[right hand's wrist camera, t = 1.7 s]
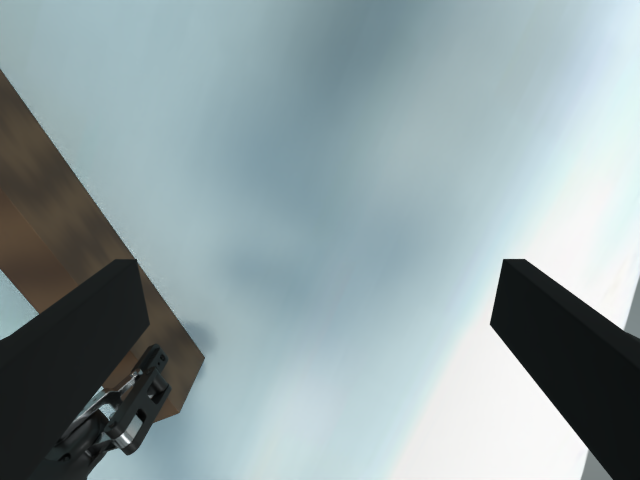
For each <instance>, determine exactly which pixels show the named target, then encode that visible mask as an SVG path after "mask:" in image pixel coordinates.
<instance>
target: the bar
mask: <svg viewBox="0 0 640 480" xmlns="http://www.w3.org/2000/svg"><path fill="white" fill-rule="evenodd" d="M115 259H134V257H133V256H132V254H131V253H130V251H129V250H128V249H127V247H126V246H125V244H124V243H123V242H122V240H121V239H120V237H119V236H118V235H117V233H116V232H115V230H114V229H113V227H112V226H111V225H110V223H109V222H108V220H107V219H106V218H105V216H104V215H103V213H102V212H101V211H100V209H99V208H98V206H97V205H96V204H95V202H94V201H93V199H92V198H91V196H90V195H89V194H88V192H87V191H86V189H85V188H84V187H83V185H82V184H81V182H80V181H79V180H78V178H77V177H76V175H75V174H74V172H73V171H72V170H71V168H70V167H69V165H68V164H67V163H66V161H65V160H64V158H63V157H62V156H61V154H60V153H59V151H58V150H57V149H56V147H55V146H54V144H53V143H52V141H51V140H50V139H49V137H48V136H47V134H46V133H45V132H44V130H43V129H42V127H41V126H40V125H39V123H38V122H37V120H36V119H35V117H34V116H33V115H32V113H31V112H30V110H29V109H28V108H27V106H26V105H25V103H24V102H23V101H22V99H21V98H20V96H19V95H18V94H17V92H16V91H15V89H14V88H13V86H12V85H11V84H10V82H9V81H8V79H7V78H6V77H5V75H4V74H3V72H2V71H1V70H0V269H1V270H2V271H3V273H4V274H5V275H6V276H7V277H8V278H9V280H10V281H11V282H12V283H13V284H14V285H15V286H16V288H17V289H18V290H19V291H20V292H21V293H22V294H23V296H24V297H25V298H26V299H27V300H28V301H29V303H30V304H31V305H32V306H33V307H34V308H35V309H36V311H37V312H38V313H39V314H40V313H42V312H43V311H44V310H46V309H47V308H49V307H50V306H51V305H53V304H54V303H55V302H57V301H58V300H60V299H61V298H62V297H64V296H65V295H66V294H68V293H69V292H71V291H72V290H73V289H75V288H76V287H77V286H79V285H80V284H82V283H83V282H84V281H86V280H87V279H89V278H90V277H91V276H93V275H94V274H95V273H97V272H98V271H100V270H101V269H102V268H104V267H105V266H106V265H108V264H109V263H111V262H112V261H113V260H115ZM138 268H139V273H140V278H141V283H142V287H143V292H144V297H145V302H146V307H147V312H148V316H149V321H150V325H149V327H148V328H147V329H146V330H145V332H144V333H143V334H142V335H141V337H140V338H139V339H138V340H137V342H136V343H135V344H134V345H133V347H132V348H131V349H130V350H129V352H128V353H127V354H126V355H125V357H124V358H123V359H122V361H121V362H120V363H119V364H118V366H117V367H116V368H115V369H114V371H113V372H112V373H111V374H110V376H109V377H108V378H107V379H106V381H105V382H104V383H103V384H102V387H103V388H104V389H105V388H114V387H115V386H116V385H117V384H119V383H120V382H121V381H122V380H123V379H124V378H126V377H127V376H128V375H129V374H130V373H131V371H132V369H133V368H134V366H135V365H136V363H137V362H138V361H139V359H140V358H141V356H142V355H143V353H144V352H145V351H146V349H147V348H148V347H149V346H151V345H153V344H158V345H159V346H160V347H161V348H162V350H163V351H164V352H165V353H166V355H167V356H168V357H169V360H168V362H167V364H166V366H165V367H164V369H163V371H162V372H161V376H162V377H163V378H164V379H165V381H166V382H167V383H168V384H169V385H170V386H171V387H172V390H171V392H170V394H169V395H168V397H167V399H166V401H165V402H164V404H163V406H162V408H161V410H160V411H159V413H158V415H157V417H156V418H155V420H154V422H153V423H155V422H157V421H160V420H162V419H165V418H168V417H170V416H173V415H175V414H178V413H180V411H181V409H182V406H183V404H184V402H185V400H186V398H187V396H188V393H189V391H190V389H191V387H192V385H193V383H194V380H195V378H196V376H197V374H198V372H199V370H200V367H201V365H202V363H203V361H204V359H205V357H204V356H203V354H202V353H201V352H200V350H199V349H198V347H197V346H196V345H195V343H194V342H193V340H192V339H191V337H190V336H189V335H188V333H187V332H186V330H185V329H184V328H183V326H182V325H181V323H180V322H179V321H178V319H177V318H176V316H175V315H174V314H173V312H172V311H171V309H170V308H169V306H168V305H167V304H166V302H165V301H164V299H163V298H162V297H161V295H160V294H159V292H158V291H157V290H156V288H155V287H154V285H153V284H152V282H151V281H150V280H149V278H148V277H147V275H146V274H145V273H144V271H143V270H142V268H141V267H140V266H139V264H138ZM132 388H133V386H131V387H130V388H129V389H128V390H127V391H126V392H125V393H123V394H122V396H121V400H122V401H124V400H125V398H126V397H127V395H128V394H129V392H130V391H131V390H132ZM152 397H153V396H152ZM152 397H151V398H150V399H152Z"/></svg>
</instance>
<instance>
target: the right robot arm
mask: <svg viewBox="0 0 640 480" xmlns="http://www.w3.org/2000/svg"><path fill="white" fill-rule="evenodd" d="M149 325H150V321H149V316H148V312H147V307H146V302H145V297H144V292H143V287H142V283H141V278H140V273H139V268H138V263H137V259H115V260H113V261H112V262H111V263H109V264H108V265H106V266H105V267H104V268H102V269H101V270H100V271H98V272H97V273H95V274H94V275H93V276H91V277H90V278H89V279H87V280H86V281H84V282H83V283H82V284H80V285H79V286H77V287H76V288H75V289H73V290H72V291H71V292H69V293H68V294H66V295H65V296H64V297H62V298H61V299H60V300H58V301H57V302H55V303H54V304H53V305H51V306H50V307H49V308H47V309H46V310H44V311H43V312H42V313H40V314H39V315H38V316H36V317H35V318H33V319H32V320H31V321H29V322H28V323H26V324H25V325H24V326H22V327H21V328H20V329H18V330H17V331H15V332H14V333H13V334H11V335H10V336H8V337H6V338H4V339H2V340H0V480H27V479H28V478H29V476H30V475H31V474H32V473H33V471H34V470H35V469H36V468H37V466H38V465H39V464H40V463H41V461H42V460H43V459H44V457H45V456H46V455H47V454H48V452H49V451H50V450H51V449H52V447H53V446H54V445H55V444H56V442H57V441H58V440H59V439H60V437H61V436H62V435H63V434H64V432H65V431H66V430H67V429H68V427H69V426H70V425H71V423H72V422H73V421H74V420H75V418H76V417H77V416H78V415H79V413H80V412H81V411H82V410H83V408H84V407H85V406H86V405H87V403H88V402H89V401H90V400H91V398H92V397H93V396H94V395H95V393H96V392H97V391H98V389H99V388H100V387H101V386H102V384H103V383H104V382H105V381H106V379H107V378H108V377H109V376H110V374H111V373H112V372H113V371H114V369H115V368H116V367H117V366H118V364H119V363H120V362H121V361H122V359H123V358H124V357H125V355H126V354H127V353H128V352H129V350H130V349H131V348H132V347H133V345H134V344H135V343H136V342H137V340H138V339H139V338H140V337H141V335H142V334H143V333H144V332H145V330H146V329H147V328H148V327H149ZM490 325H491V327H492V328H493V329H494V330H495V332H496V333H497V334H498V335H499V337H500V338H501V339H502V340H503V342H504V343H505V344H506V345H507V347H508V348H509V349H510V350H511V352H512V353H513V354H514V355H515V357H516V358H517V359H518V361H519V362H520V363H521V364H522V366H523V367H524V368H525V369H526V371H527V372H528V373H529V374H530V376H531V377H532V378H533V379H534V381H535V382H536V383H537V384H538V386H539V387H540V388H541V389H542V391H543V392H544V393H545V395H546V396H547V397H548V398H549V400H550V401H551V402H552V403H553V405H554V406H555V407H556V408H557V410H558V411H559V412H560V413H561V415H562V416H563V417H564V418H565V420H566V421H567V422H568V423H569V425H570V426H571V427H572V429H573V430H574V431H575V432H576V434H577V435H578V436H579V437H580V439H581V440H582V441H583V442H584V444H585V445H586V446H587V447H588V449H589V450H590V451H591V452H592V454H593V455H594V456H595V457H596V459H597V460H598V461H599V463H600V464H601V465H602V466H603V468H604V469H605V470H606V471H607V473H608V474H609V475H610V476H611V478H612V479H613V480H640V339H639V338H637V337H635V336H633V335H631V334H629V333H626V332H625V331H623V330H622V329H620V328H619V327H618V326H616V325H615V324H614V323H612V322H611V321H609V320H608V319H607V318H605V317H604V316H602V315H601V314H600V313H598V312H597V311H596V310H594V309H593V308H591V307H590V306H589V305H587V304H586V303H585V302H583V301H582V300H580V299H579V298H578V297H576V296H575V295H574V294H572V293H571V292H569V291H568V290H567V289H565V288H564V287H563V286H561V285H560V284H558V283H557V282H556V281H554V280H553V279H551V278H550V277H549V276H547V275H546V274H545V273H543V272H542V271H540V270H539V269H538V268H536V267H535V266H534V265H532V264H531V263H529V262H528V261H527V260H525V259H503V263H502V268H501V273H500V278H499V283H498V287H497V292H496V297H495V302H494V307H493V312H492V316H491V321H490Z"/></svg>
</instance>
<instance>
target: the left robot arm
mask: <svg viewBox="0 0 640 480" xmlns="http://www.w3.org/2000/svg"><path fill="white" fill-rule="evenodd" d="M168 360H169V357H168V356H167V355H166V353H165V352H164V351H163V350H162V348H161V347H160V346H159V345H158V344H153V345H151V346H149V347H148V348H147V349H146V351H145V352H144V353H143V355H142V356H141V358H140V359H139V361H138V362H137V363H136V365H135V366H134V368H133V369H132V371H131V373H130V374H129V375H128V376H127V377H126V378H124V379H123V380H122V381H121V382H120V383H119V384H117V385H116V386H115V387H114V388H105V389H103V390H102V391H100V392H99V393H98V394H97V395H96V396H94V397H93V398H92V399H91V400H90V401H89V402H88V403H87V405H86V406H85V407H84V408H83V410H82V411H81V412H80V413H79V415H78V416H77V417H76V418H75V420H74V421H73V422H72V423H71V425H70V426H69V427H68V429H67V430H66V431H65V432H64V434H63V435H62V436H61V437H60V439H59V440H58V441H57V442H56V444H55V445H54V446H53V447H52V449H51V450H50V451H49V452H48V454H47V455H46V456H45V457H44V459H43V460H42V461H41V463H40V464H39V465H38V466H37V468H36V469H35V470H34V471H33V473H32V474H31V475H30V476H29V478H28V479H27V480H87V476H88V474H89V473H90V472H91V471H92V470H93V468H94V467H95V466H96V465H97V464H98V463H99V462H100V460H101V459H102V458H103V457H104V456H105V455H106V453H107V451H110V450H114V449H117V448H119V449H121V450H122V451H123V452H124V453H125V454H126V455H130V454H132V453H134V452H135V451H136V450H137V449H138V448H139V446H140V445H141V443H142V441H143V440H144V438H145V436H146V434H147V433H148V431H149V429H150V427H151V425H152V424H153V422H154V420H155V418H156V417H157V415H158V413H159V411H160V410H161V408H162V406H163V404H164V402H165V401H166V399H167V397H168V395H169V394H170V392H171V390H172V387H171V386H170V385H169V384H168V383H167V382H166V381H165V379H164V378H163V377H162V376H161V372H162V371H163V369H164V367H165V366H166V364H167V362H168ZM131 386H133V388H132V390H131V391H130V392H129V394H128V395H127V397H126V398H125V400H124V401H122V400H121V396H122V394H123V393H125V392H126V391H127V390H128V389H129V388H130V387H131ZM152 396H153V397H152ZM151 397H152V399H150V398H151ZM104 404H109V405H110V406H111V407H112V408H113V410H114V411H115V412H114V413H112V414H111V415H110V416H109V419H110V421H109V420H108V418H107V417H106V416H105V415H104V414H103V413H102V412H101V411H100V410H99V409H98V408H100V407H101V406H102V405H104Z"/></svg>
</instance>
